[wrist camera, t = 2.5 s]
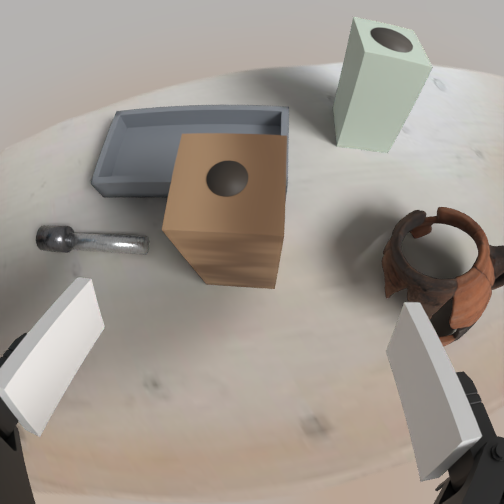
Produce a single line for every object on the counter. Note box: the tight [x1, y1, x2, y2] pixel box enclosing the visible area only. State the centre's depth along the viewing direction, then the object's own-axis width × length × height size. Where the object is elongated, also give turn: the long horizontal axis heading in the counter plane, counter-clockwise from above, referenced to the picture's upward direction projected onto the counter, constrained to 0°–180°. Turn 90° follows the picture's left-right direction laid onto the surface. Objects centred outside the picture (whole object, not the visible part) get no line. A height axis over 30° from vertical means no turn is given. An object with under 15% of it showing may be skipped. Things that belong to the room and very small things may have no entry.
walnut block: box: [162, 133, 287, 289], centre depth 19 cm, size 5×5×11 cm
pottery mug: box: [382, 207, 504, 346], centre depth 20 cm, size 12×10×8 cm
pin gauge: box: [36, 226, 149, 254], centre depth 23 cm, size 10×2×2 cm, turn 86°
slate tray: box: [91, 105, 289, 201], centre depth 25 cm, size 16×8×3 cm, turn 86°
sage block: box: [333, 17, 433, 153], centre depth 22 cm, size 5×5×11 cm
